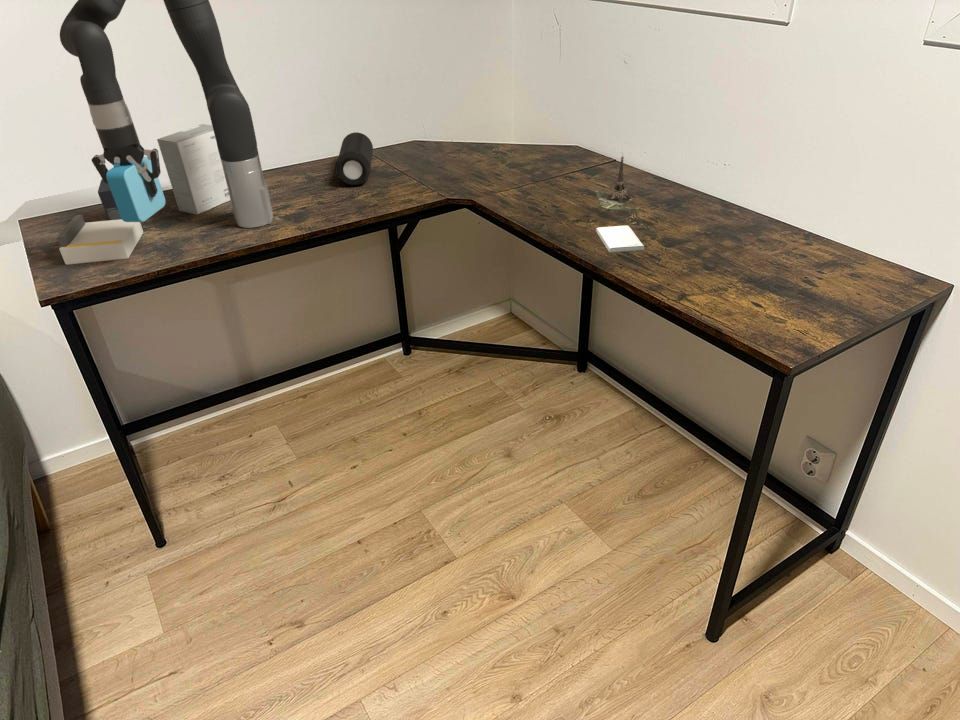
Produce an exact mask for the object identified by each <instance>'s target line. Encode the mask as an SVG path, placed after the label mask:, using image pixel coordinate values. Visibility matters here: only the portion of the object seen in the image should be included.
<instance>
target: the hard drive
mask: <svg viewBox="0 0 960 720" xmlns="http://www.w3.org/2000/svg"><path fill="white" fill-rule="evenodd" d="M595 232H596V233H597V235H598V236H599V238H600V240H601V242H602V243H603V245H604V246H605V248H606V249H607V252H608V253H620V252H630V251H631V252H632V251H633V252H634V251H644V250H645V246H644V244H643V243H642V241H640V239H639V238H638V236H637V235H636V234H635V231H634V230H633V229H632V228H631V227H630V226H629V225H617V226H615V225H613V226H602V227H601V226H600V227H596V229H595Z"/></svg>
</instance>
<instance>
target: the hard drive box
mask: <svg viewBox="0 0 960 720" xmlns="http://www.w3.org/2000/svg"><path fill="white" fill-rule="evenodd" d="M156 140H157V143H158V146H159V147H158V148H159V150H160V154H161V156H162V160H163V163H164V166H165V170H166V173H167V175H168V179H169V182H170V184H171V185H170V186H171V188H172V191H173V195H174V199H175V202H176V205H177V207H178V210H179V212H183V213H186V214H187V213H188V214H192V215H195V216H196V215H199V214H201V213H205V212H207V211H209V210H211V209H213V208H215V207H218V206H220V205H222V204H225V203H227V202H231V199H230V195H229V191H228V187H227V183H226V179H225V175H224V171H223V167H222V163H221V159H220V155H219V151H218V147H217V142H216V138H215V134H214V130H213V126H212V124H205V123H201V124H198V125H195V126H192V127H189V128H185V129H182V130H180V131H178V132H174V133H172V134H169V135H166V136H162V137H160V138H157V139H156Z"/></svg>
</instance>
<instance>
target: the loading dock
mask: <svg viewBox="0 0 960 720" xmlns="http://www.w3.org/2000/svg"><path fill="white" fill-rule="evenodd" d="M141 223H142V222H124V221H123V220H122V219H119V220H109V221H108V220H100V221H99V220H98V221H91V222H90V221H89V222H85V220H84V217H83V214H75V215H74V216H73V217H72V219H70V221H69V222H68V224H67V225H66V226H65V227H64V228H63V229H62V230H61V231H60V233H59V234H58V235H57V236H56V240H57V242H58V245H59V251H60V254H61V256H62V259H63V261H64V264H65V265H76V264H86V263H96V262H106V261H117V260H126V259H129V257H130V256H131V254H132V253H133V251H134V249H136V248H135V247H136V246H137V244H138V243H139V241H140V239H141V238H142V236H143V234H144V230H143V227H142V224H141Z"/></svg>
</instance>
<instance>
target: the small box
mask: <svg viewBox="0 0 960 720" xmlns="http://www.w3.org/2000/svg"><path fill="white" fill-rule="evenodd" d="M97 194H98V197H99V199H100V202H101V205H102V208H103V210H104V212H105V215H106V218H107V221H109V220H119V219H121V216H120V214H119V211H118V208H117V206H116V203H115V200H114V198H113V195H112V192H111V189H110V187H109V184H107V183H105V182H104V181H103V179H102V178H101V180H100V183H99V185H98V190H97Z"/></svg>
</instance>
